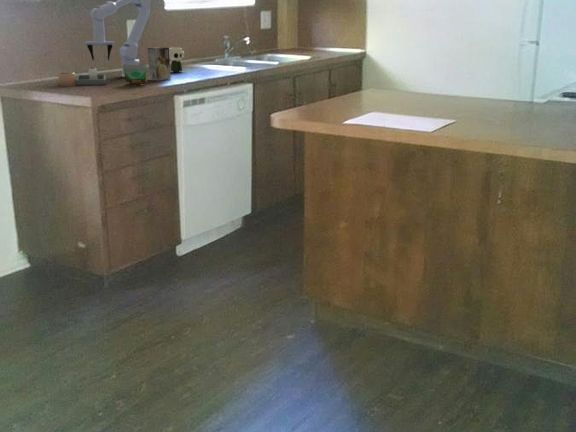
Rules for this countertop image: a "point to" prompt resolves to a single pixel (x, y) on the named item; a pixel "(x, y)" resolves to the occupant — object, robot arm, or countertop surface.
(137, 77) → the food container
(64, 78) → the pot
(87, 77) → the tray
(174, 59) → the big headed figurine
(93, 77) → the cell
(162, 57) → the coffee box
